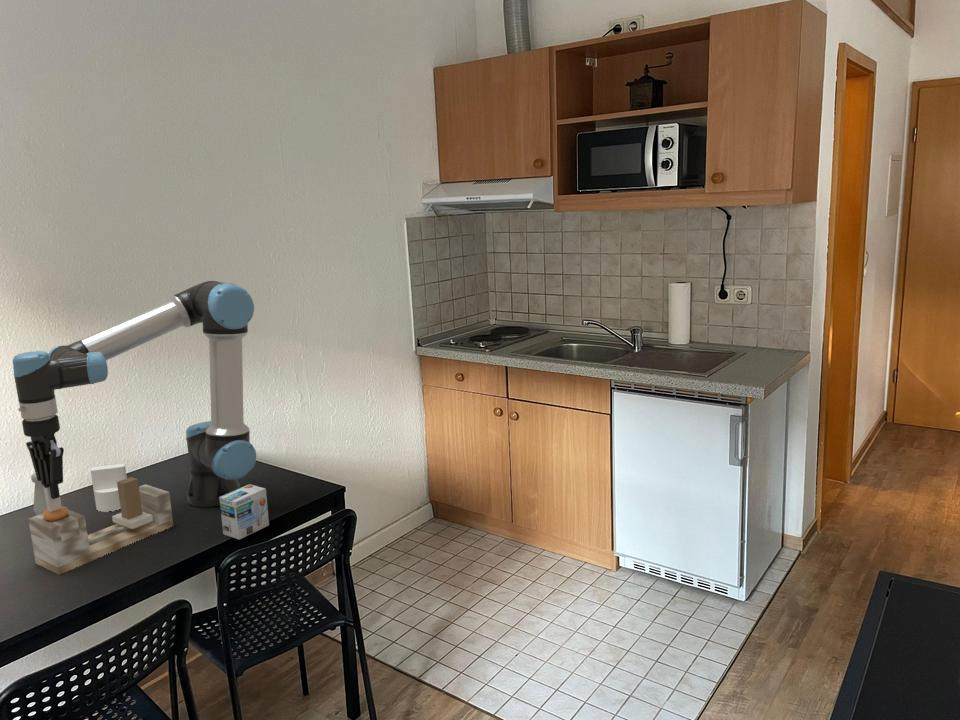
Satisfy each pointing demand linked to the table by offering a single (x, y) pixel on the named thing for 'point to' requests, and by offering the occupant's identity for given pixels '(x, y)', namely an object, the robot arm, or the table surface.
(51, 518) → the button
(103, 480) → the cylinder with rectangular tab
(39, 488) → the salt shaker
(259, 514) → the light bulb box
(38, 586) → the table surface
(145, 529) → the rail base
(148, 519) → the carriage
